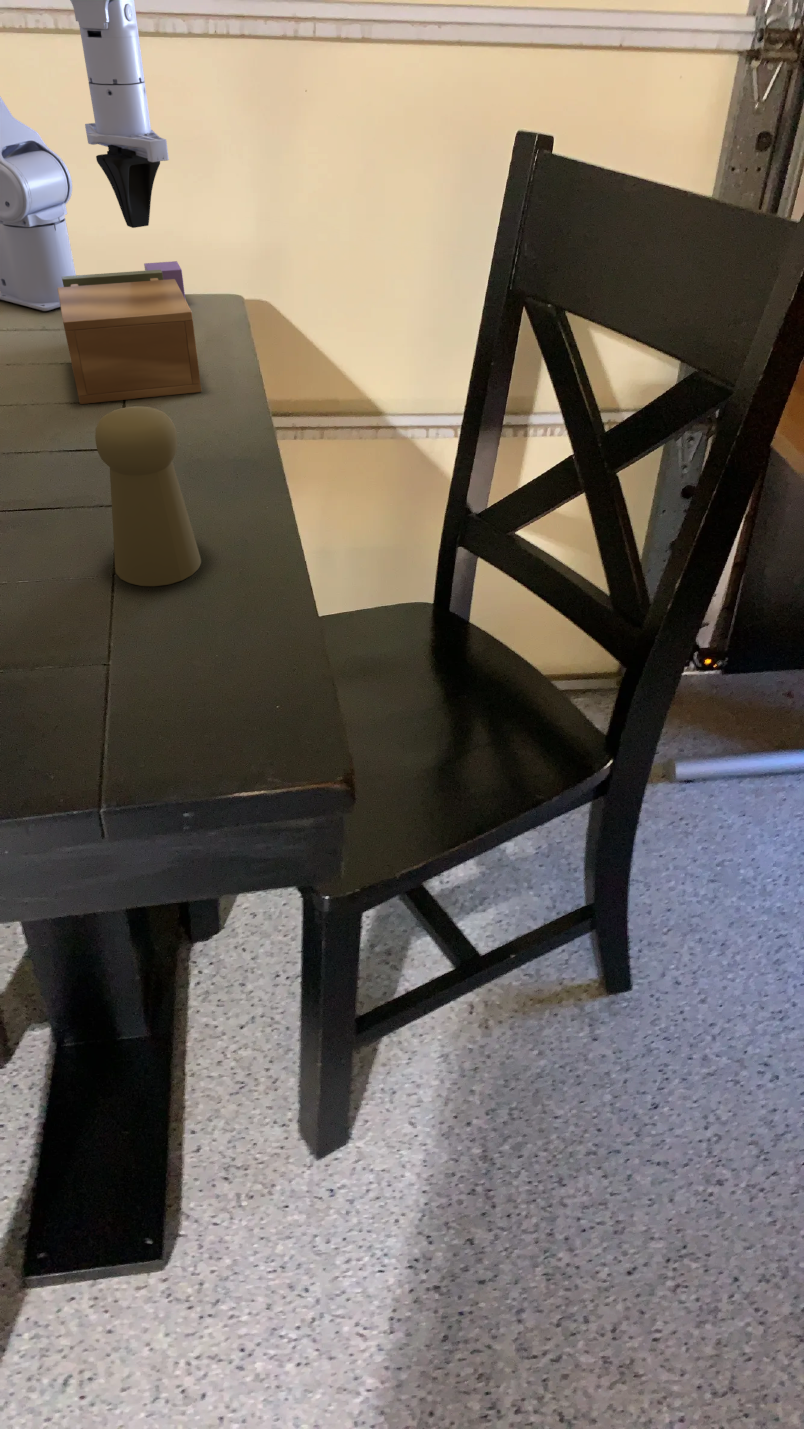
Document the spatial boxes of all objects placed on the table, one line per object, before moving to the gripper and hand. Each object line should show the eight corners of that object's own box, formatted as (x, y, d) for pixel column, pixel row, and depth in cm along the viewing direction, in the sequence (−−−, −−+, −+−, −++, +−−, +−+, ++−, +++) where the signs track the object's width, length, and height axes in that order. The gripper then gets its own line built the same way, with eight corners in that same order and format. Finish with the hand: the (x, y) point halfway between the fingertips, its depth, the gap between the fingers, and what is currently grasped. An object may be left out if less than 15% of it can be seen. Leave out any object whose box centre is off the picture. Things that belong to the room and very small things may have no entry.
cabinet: (72, 364, 99) (57, 287, 94) (184, 353, 102) (174, 278, 97) (80, 404, 91) (63, 321, 86) (201, 391, 94) (191, 311, 89)
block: (149, 297, 118) (143, 263, 115) (181, 295, 119) (177, 260, 116) (152, 306, 115) (147, 271, 113) (186, 304, 116) (181, 269, 114)
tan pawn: (106, 553, 69) (75, 404, 62) (188, 536, 71) (167, 390, 64) (125, 593, 65) (93, 438, 58) (211, 575, 67) (191, 422, 60)
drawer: (70, 321, 108) (59, 266, 104) (163, 313, 110) (156, 259, 106) (78, 364, 97) (66, 304, 93) (181, 354, 99) (174, 296, 96)
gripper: (50, 77, 101) (76, 218, 110) (114, 91, 93) (137, 243, 101) (110, 73, 105) (131, 210, 113) (178, 86, 96) (195, 233, 105)
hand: (138, 225), depth 107 cm, fingers closed
